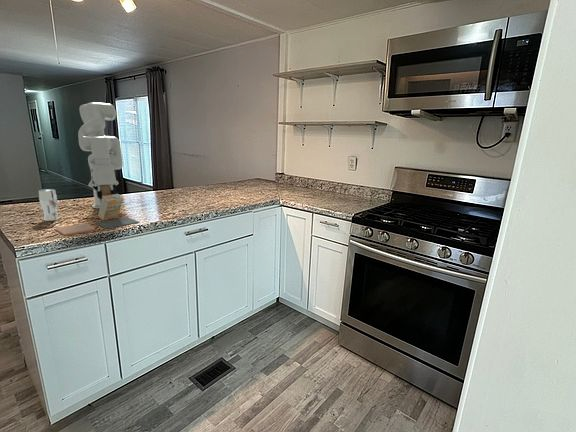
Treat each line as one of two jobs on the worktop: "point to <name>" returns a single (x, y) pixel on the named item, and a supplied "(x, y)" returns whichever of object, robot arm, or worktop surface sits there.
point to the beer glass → (49, 204)
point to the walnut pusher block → (105, 190)
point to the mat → (116, 222)
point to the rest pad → (75, 229)
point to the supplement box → (110, 207)
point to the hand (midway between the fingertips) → (105, 197)
